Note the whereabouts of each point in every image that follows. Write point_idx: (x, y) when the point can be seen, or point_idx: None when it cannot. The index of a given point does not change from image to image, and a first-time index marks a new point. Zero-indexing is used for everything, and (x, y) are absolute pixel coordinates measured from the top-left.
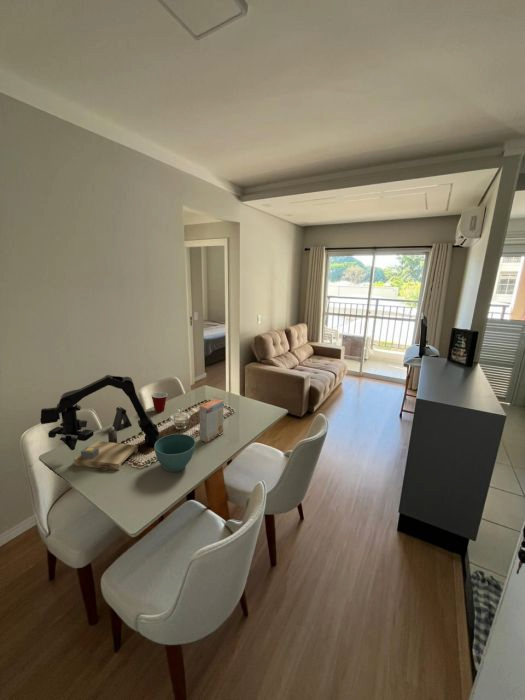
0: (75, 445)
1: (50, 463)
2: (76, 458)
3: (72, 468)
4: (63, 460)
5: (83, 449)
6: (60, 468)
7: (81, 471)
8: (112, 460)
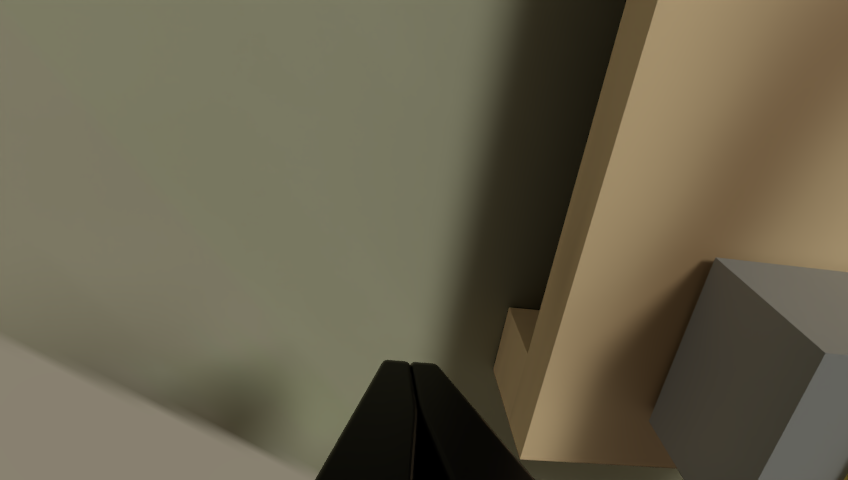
0: (496, 444)
1: (43, 356)
2: (562, 444)
3: (505, 436)
4: (205, 263)
5: (766, 471)
6: (324, 449)
7: (662, 477)
8: None
